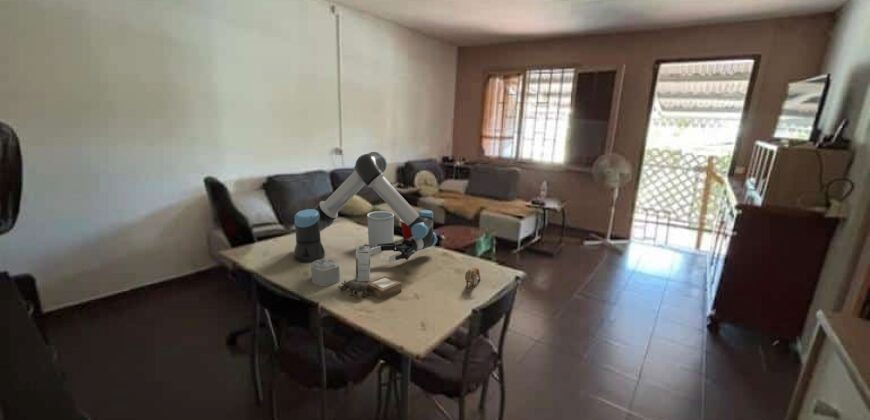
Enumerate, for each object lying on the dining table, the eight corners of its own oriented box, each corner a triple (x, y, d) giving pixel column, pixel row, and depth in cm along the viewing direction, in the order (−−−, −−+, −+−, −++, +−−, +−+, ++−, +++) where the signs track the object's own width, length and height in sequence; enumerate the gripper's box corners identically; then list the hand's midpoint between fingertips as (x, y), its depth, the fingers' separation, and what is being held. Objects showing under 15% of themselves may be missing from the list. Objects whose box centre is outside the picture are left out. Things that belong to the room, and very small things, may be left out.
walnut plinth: (366, 291, 157) (366, 282, 156) (385, 284, 164) (385, 275, 163) (382, 299, 150) (382, 290, 149) (401, 291, 158) (401, 282, 157)
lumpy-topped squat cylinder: (321, 287, 160) (320, 268, 158) (306, 278, 169) (305, 259, 167) (343, 280, 167) (342, 262, 165) (327, 271, 176) (326, 254, 174)
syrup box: (357, 276, 171) (356, 245, 168) (370, 276, 172) (370, 245, 168) (355, 281, 166) (354, 250, 162) (369, 281, 166) (369, 250, 163)
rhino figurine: (340, 290, 158) (340, 276, 157) (371, 294, 155) (371, 281, 153) (336, 294, 154) (335, 280, 153) (367, 299, 151) (367, 285, 149)
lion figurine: (475, 292, 158) (476, 272, 156) (463, 290, 160) (463, 270, 158) (481, 278, 172) (482, 260, 170) (469, 277, 173) (470, 258, 171)
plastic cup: (415, 242, 219) (415, 222, 216) (397, 241, 221) (397, 221, 218) (420, 237, 229) (420, 217, 226) (402, 235, 231) (402, 216, 228)
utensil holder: (392, 249, 207) (392, 218, 203) (365, 248, 207) (364, 217, 203) (395, 240, 222) (395, 211, 217) (370, 240, 222) (369, 210, 217)
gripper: (430, 258, 182) (398, 271, 166) (395, 246, 198) (362, 256, 182) (431, 243, 180) (398, 254, 165) (394, 232, 196) (361, 241, 181)
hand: (379, 255), depth 173 cm, fingers open, 13 cm apart
